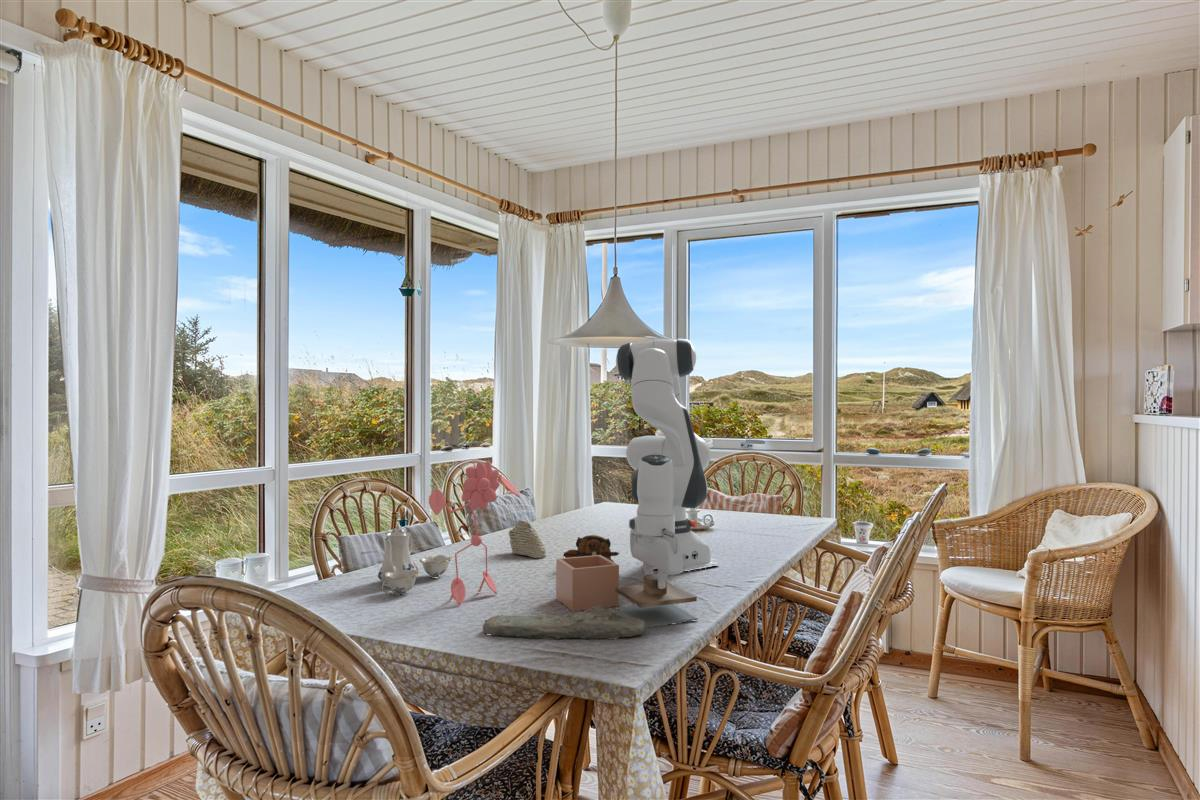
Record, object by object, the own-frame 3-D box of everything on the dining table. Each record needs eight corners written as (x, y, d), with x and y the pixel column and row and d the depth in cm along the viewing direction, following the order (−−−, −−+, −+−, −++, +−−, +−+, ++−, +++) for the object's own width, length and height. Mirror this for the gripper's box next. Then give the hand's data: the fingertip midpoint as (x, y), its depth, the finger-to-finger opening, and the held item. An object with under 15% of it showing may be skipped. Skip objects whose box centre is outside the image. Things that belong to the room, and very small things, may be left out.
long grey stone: (488, 631, 159) (479, 649, 149) (487, 608, 159) (478, 624, 149) (644, 624, 158) (646, 642, 148) (643, 601, 157) (645, 617, 147)
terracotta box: (600, 593, 183) (600, 554, 183) (618, 606, 172) (619, 565, 172) (556, 598, 179) (556, 558, 179) (572, 611, 168) (572, 569, 168)
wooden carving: (563, 572, 206) (563, 537, 206) (563, 568, 210) (563, 534, 210) (619, 571, 206) (619, 537, 206) (618, 567, 211) (619, 534, 211)
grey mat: (668, 604, 174) (668, 601, 174) (697, 621, 161) (697, 618, 161) (616, 610, 169) (616, 608, 169) (641, 628, 156) (641, 625, 156)
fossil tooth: (536, 563, 221) (503, 552, 230) (550, 559, 226) (516, 548, 235) (538, 527, 219) (504, 518, 229) (551, 524, 224) (517, 514, 234)
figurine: (419, 607, 171) (422, 462, 170) (500, 585, 190) (503, 455, 190) (459, 622, 161) (462, 468, 160) (540, 597, 180) (543, 460, 180)
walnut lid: (667, 586, 174) (667, 567, 174) (696, 601, 161) (696, 581, 161) (615, 591, 169) (615, 572, 169) (640, 607, 156) (640, 587, 156)
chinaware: (411, 606, 177) (417, 541, 177) (350, 596, 180) (356, 531, 180) (455, 578, 204) (461, 521, 204) (402, 569, 208) (407, 513, 207)
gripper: (689, 532, 156) (689, 595, 156) (648, 517, 175) (648, 573, 175) (664, 534, 154) (663, 598, 154) (625, 519, 173) (625, 576, 173)
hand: (655, 585), depth 165 cm, fingers closed on walnut lid, 4 cm apart
